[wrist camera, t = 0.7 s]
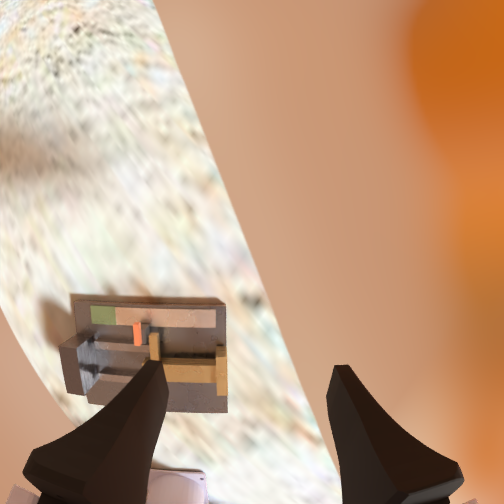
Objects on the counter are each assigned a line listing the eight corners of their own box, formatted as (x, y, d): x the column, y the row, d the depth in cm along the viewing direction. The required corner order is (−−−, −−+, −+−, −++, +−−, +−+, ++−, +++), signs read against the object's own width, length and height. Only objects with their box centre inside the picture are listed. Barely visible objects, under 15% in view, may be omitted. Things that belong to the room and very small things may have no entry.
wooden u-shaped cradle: (226, 382, 30) (227, 395, 27) (149, 380, 29) (143, 392, 26) (226, 330, 30) (226, 340, 27) (145, 329, 29) (137, 338, 26)
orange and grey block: (150, 337, 29) (143, 347, 26) (138, 337, 29) (131, 346, 26) (148, 317, 29) (141, 324, 26) (137, 316, 29) (129, 324, 26)
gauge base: (227, 408, 31) (229, 435, 26) (91, 399, 30) (74, 421, 24) (225, 304, 31) (226, 316, 26) (77, 299, 29) (54, 310, 24)
